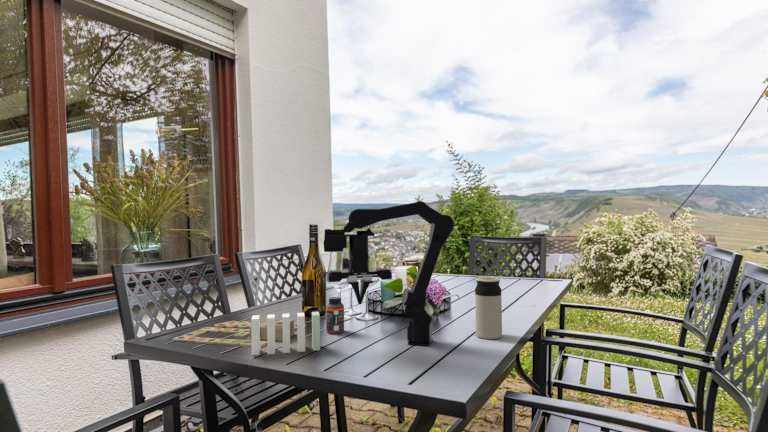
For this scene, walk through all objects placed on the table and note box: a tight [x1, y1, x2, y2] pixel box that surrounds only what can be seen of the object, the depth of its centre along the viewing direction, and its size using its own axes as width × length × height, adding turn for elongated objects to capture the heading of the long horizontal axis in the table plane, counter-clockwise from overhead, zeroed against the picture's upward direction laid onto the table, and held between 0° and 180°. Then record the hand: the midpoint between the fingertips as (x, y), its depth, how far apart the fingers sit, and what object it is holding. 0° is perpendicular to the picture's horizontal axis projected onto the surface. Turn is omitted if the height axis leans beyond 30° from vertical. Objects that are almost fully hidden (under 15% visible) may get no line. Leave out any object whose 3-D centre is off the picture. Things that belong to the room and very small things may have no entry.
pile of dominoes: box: [172, 318, 307, 349], centre depth 148 cm, size 35×27×6 cm
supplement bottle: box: [325, 296, 345, 335], centre depth 147 cm, size 6×6×11 cm
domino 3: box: [281, 313, 291, 354], centre depth 128 cm, size 2×5×10 cm, turn 12°
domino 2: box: [266, 313, 276, 355], centre depth 127 cm, size 2×5×10 cm, turn 12°
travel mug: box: [474, 276, 503, 340], centre depth 139 cm, size 8×8×18 cm
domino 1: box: [250, 314, 261, 356], centre depth 126 cm, size 2×5×10 cm, turn 12°
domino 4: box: [296, 312, 306, 353], centre depth 129 cm, size 2×5×10 cm, turn 12°
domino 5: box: [311, 311, 321, 352], centre depth 130 cm, size 2×5×10 cm, turn 12°
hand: (359, 304), depth 132 cm, fingers closed
